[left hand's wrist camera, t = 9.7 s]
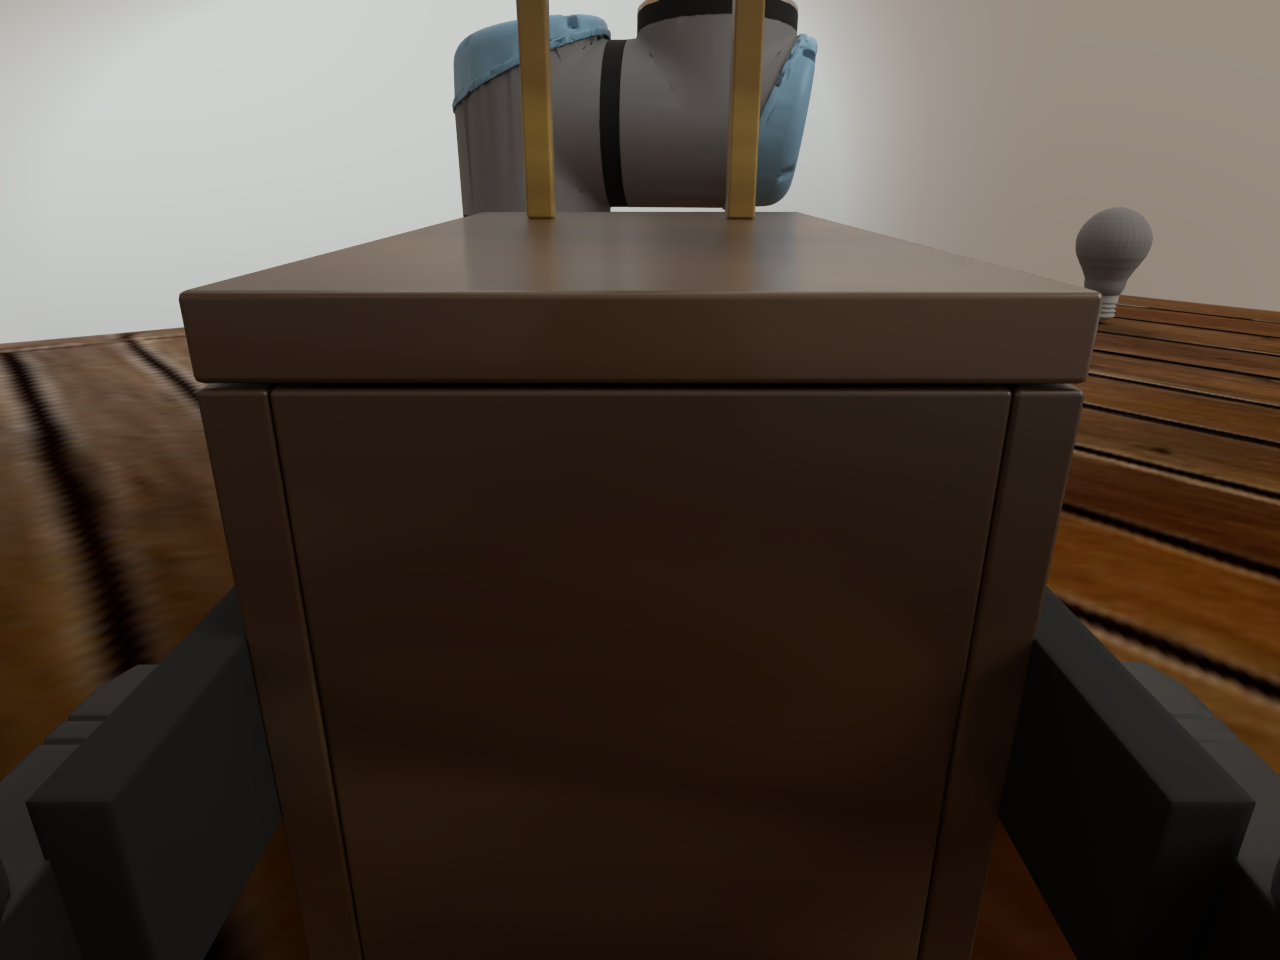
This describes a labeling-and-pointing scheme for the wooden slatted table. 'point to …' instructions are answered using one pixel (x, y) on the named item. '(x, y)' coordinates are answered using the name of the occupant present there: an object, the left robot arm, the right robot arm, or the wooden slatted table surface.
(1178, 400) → the wooden slatted table surface
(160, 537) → the wooden slatted table surface
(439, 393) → the chest
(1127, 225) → the light bulb
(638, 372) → the lid
